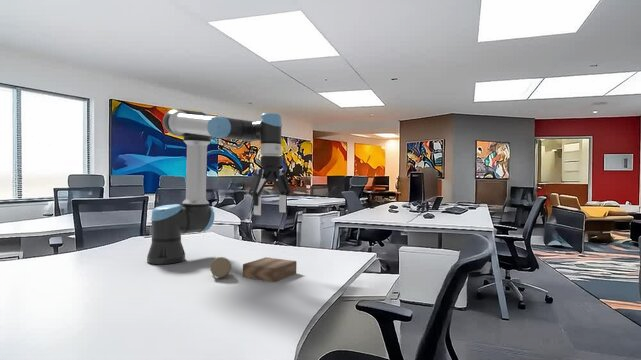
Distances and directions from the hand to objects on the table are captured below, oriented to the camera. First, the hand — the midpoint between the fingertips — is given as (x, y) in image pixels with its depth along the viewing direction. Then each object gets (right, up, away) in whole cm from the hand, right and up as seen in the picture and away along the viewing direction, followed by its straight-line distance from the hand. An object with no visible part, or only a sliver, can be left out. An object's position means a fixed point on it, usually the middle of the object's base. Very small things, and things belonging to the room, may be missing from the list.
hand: (270, 213), depth 144 cm
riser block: (0, -23, 0) cm, 23 cm away
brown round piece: (-19, -23, 0) cm, 30 cm away
